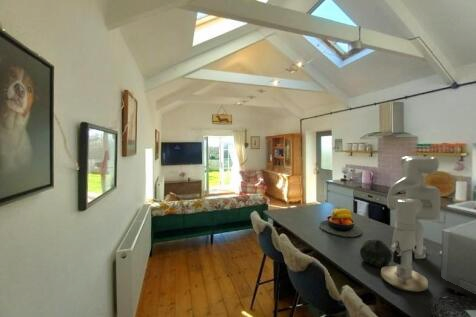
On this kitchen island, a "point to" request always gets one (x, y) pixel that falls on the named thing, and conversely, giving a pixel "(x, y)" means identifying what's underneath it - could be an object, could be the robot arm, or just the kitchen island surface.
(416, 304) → the kitchen island surface
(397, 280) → the turntable
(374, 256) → the squash
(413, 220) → the robot arm
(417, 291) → the turntable base
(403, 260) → the skincare box
